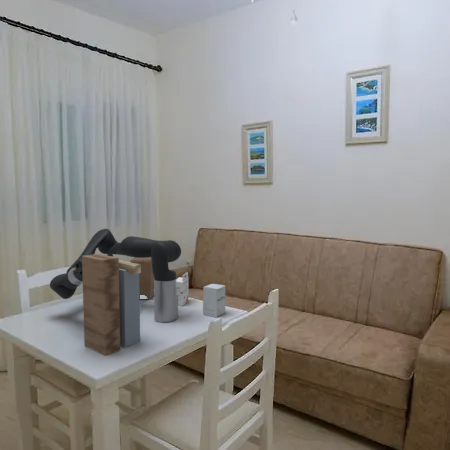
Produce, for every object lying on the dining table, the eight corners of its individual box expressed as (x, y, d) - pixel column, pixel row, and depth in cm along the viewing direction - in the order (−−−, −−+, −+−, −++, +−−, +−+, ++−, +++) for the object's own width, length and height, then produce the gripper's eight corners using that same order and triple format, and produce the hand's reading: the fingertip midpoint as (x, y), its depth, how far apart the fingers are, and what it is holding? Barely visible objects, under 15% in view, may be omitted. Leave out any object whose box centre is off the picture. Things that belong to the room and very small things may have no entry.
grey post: (119, 333, 146) (117, 263, 143) (140, 341, 138) (139, 267, 136) (104, 338, 140) (103, 265, 138) (125, 347, 133) (124, 270, 130)
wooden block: (150, 300, 188) (150, 260, 186) (130, 299, 188) (129, 259, 186) (154, 294, 198) (154, 256, 196) (135, 294, 198) (134, 256, 196)
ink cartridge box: (179, 300, 189) (178, 270, 187) (188, 300, 188) (188, 271, 186) (173, 305, 180) (173, 274, 179) (183, 306, 179) (183, 275, 178)
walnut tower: (99, 340, 139) (97, 253, 135) (120, 349, 131) (118, 257, 128) (84, 346, 134) (81, 256, 131) (105, 355, 127) (103, 260, 123)
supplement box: (216, 317, 164) (216, 289, 163) (202, 314, 168) (202, 286, 167) (225, 313, 170) (225, 285, 169) (211, 310, 174) (212, 282, 173)
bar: (99, 263, 147) (99, 256, 147) (140, 272, 133) (140, 264, 132) (92, 265, 145) (92, 257, 144) (133, 274, 130) (133, 265, 130)
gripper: (61, 266, 147) (82, 250, 138) (94, 261, 159) (115, 245, 149) (67, 285, 146) (88, 269, 136) (100, 278, 157) (121, 263, 148)
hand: (102, 256), depth 143 cm, fingers open, 8 cm apart
